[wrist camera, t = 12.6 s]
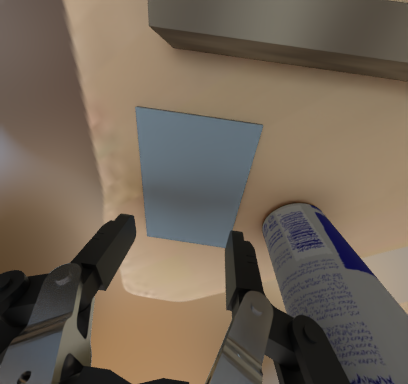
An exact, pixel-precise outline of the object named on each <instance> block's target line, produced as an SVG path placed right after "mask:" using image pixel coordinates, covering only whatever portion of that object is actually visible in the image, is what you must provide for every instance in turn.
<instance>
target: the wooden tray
mask: <svg viewBox="0 0 408 384" xmlns="http://www.w3.org/2000/svg"><path fill="white" fill-rule="evenodd" d="M148 17H149V26H150V27H151V28H152V29H153V30H154V31H155V32H156V33H157V34H159V35H160V36H161V37H162V38H163V39H164V40H165V41H166V42H168V43H169V44H170V45H171V46H172V47H173V48H179V49H186V50H193V51H200V52H207V53H214V54H221V55H228V56H235V57H242V58H249V59H256V60H263V61H270V62H277V63H284V64H291V65H298V66H305V67H312V68H319V69H326V70H333V71H340V72H347V73H354V74H361V75H368V76H375V77H382V78H389V79H395V80H402V81H408V3H402V2H395V1H388V0H148Z"/></svg>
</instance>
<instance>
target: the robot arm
mask: <svg viewBox="0 0 408 384" xmlns="http://www.w3.org/2000/svg"><path fill="white" fill-rule="evenodd" d="M135 237H136V227H135V219H134V216H133V215H128V214H120V215H119V216H118V217H117V218H116V219H115V221H112V220H111V221H109V222H107V223H106V224H104V225H103V226H102V227H101V228H100V229H99V230H98V231H97V233H96V234H95V235H94V236H93V237H92V239H91V240H90V241H89V242H88V243H87V244H86V245H85V246H84V248H83V249H82V250H81V251H80V252H79V253H78V255H77V256H76V257H75V258H74V259H73V260H72V261H71V262H70V263H68V264H64V265H61V266H59V267H57V268H56V269H54V270H53V271H51V273H49V274H42V275H35V276H29V277H26V275H25V274H24V273H23V272H22V271H19V270H14V271H8V272H5V273H2V274H0V365H1V366H0V384H131V383H129V382H128V381H126V380H125V379H123V378H122V377H120V376H118V375H117V374H115V373H114V372H112V371H111V370H108V369H100V368H95V367H91V357H92V354H91V345H90V337H91V328H92V320H93V310H94V302H95V297H94V296H95V294H96V293H97V291H98V290H104V291H106V289H107V288H108V286H109V284H110V282H111V281H112V279H113V277H114V275H115V274H116V272H117V270H118V268H119V267H120V265H121V263H122V261H123V260H124V258H125V256H126V254H127V253H128V251H129V249H130V247H131V246H132V244H133V242H134V240H135ZM225 277H226V309H227V310H230V311H232V321H231V324H230V326H229V328H228V331H227V333H226V335H225V338H224V340H223V343H222V345H221V348H220V350H219V352H218V355H217V358H216V360H215V362H214V364H213V367H212V369H211V371H210V373H209V376H208V378H207V380H206V383H205V384H262V380H263V374H262V362H263V358H264V355H266V356H268V357H269V358H271V359H273V361H274V365H275V369H276V372H277V376H278V380H279V384H351V383H350V381H349V379H348V377H347V375H346V374H345V372H344V370H343V368H342V366H341V364H340V362H339V360H338V358H337V356H336V354H335V352H334V350H333V348H332V346H331V344H330V342H329V340H328V338H327V336H326V334H325V332H324V331H323V329H322V328H321V327H320V325H319V324H318V323H317V322H316V321H314V320H313V319H312V318H310V317H308V316H305V315H298V316H296V317H295V318H294V317H292V316H290V315H288V314H286V313H284V312H282V311H280V310H278V309H277V308H275V307H274V306H273V305H272V304H271V303H270V301H269V300H268V299H267V298H266V296H265V294H264V291H263V287H262V282H261V277H260V272H259V268H258V265H257V258H256V254H255V249H254V247H253V246H252V244H251V243H250V242H249V241H244V237H243V233H242V232H239V231H232V230H231V231H230V233H229V237H228V240H227V244H226V248H225ZM140 384H189V382H184V381H178V380H172V379H165V378H162V379H158V380H153V381H149V382H145V383H140Z"/></svg>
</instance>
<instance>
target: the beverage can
mask: <svg viewBox="0 0 408 384" xmlns="http://www.w3.org/2000/svg"><path fill="white" fill-rule="evenodd" d="M262 231H263V235H264V238H265V242H266V245H267V248H268V252H269V255H270V258H271V262H272V265H273V268H274V272H275V275H276V279H277V282H278V285H279V288H280V292H281V295H282V298H283V302H284V305H285V309H286V312H287V314H288V315H290V316H292V317H294V318H295V317H296V316H298V315H305V316H308V317H310V318H312V319H313V320H314V321H316V322H317V323H318V324H319V325H320V327H321V328H322V329H323V331H324V332H325V334H326V336H327V338H328V340H329V342H330V344H331V346H332V348H333V350H334V352H335V354H336V356H337V358H338V360H339V362H340V364H341V366H342V368H343V370H344V372H345V374H346V375H347V377H348V379H349V381H350V383H351V384H408V315H407V314H406V312H405V311H404V310H403V309H402V308H401V306H400V305H399V304H398V303H397V302H396V300H395V299H394V298H393V297H392V296H391V294H390V293H389V292H388V291H387V290H386V288H385V287H384V286H383V285H382V283H381V282H380V281H379V280H378V279H377V277H376V276H375V275H374V274H373V273H372V272H371V270H370V269H369V268H368V267H367V265H366V264H365V263H364V262H363V261H362V259H361V258H360V257H359V256H358V255H357V253H356V252H355V251H354V250H353V249H352V247H351V246H350V245H349V244H348V243H347V241H346V240H345V239H344V238H343V237H342V235H341V234H340V233H339V232H338V231H337V229H336V228H335V227H334V226H333V225H332V223H331V222H330V221H329V220H328V219H327V217H326V216H325V215H324V214H323V213H322V211H321V210H320V209H318V208H317V207H315V206H313V205H310V204H304V203H295V204H289V205H285V206H283V207H280V208H278V209H276V210H275V211H273V212H272V213H271V214H270V215H269V216H268V217H267V218H266V219H265V221H264V223H263V227H262Z"/></svg>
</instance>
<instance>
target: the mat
mask: <svg viewBox="0 0 408 384" xmlns="http://www.w3.org/2000/svg"><path fill="white" fill-rule="evenodd" d="M135 108H136V119H137V130H138V141H139V152H140V163H141V174H142V185H143V196H144V207H145V218H146V228H147V236H149V237H156V238H163V239H169V240H176V241H182V242H189V243H196V244H202V245H209V246H216V247H222V248H226V244H227V240H228V237H229V233H230V231H231V230H232V229H233V226H234V222H235V219H236V216H237V212H238V209H239V205H240V202H241V199H242V195H243V192H244V189H245V185H246V182H247V179H248V175H249V172H250V169H251V165H252V162H253V158H254V155H255V152H256V148H257V145H258V142H259V138H260V135H261V132H262V128H263V125H262V124H255V123H248V122H242V121H235V120H228V119H221V118H214V117H207V116H200V115H194V114H187V113H180V112H173V111H166V110H159V109H152V108H146V107H139V106H137V107H135Z"/></svg>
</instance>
